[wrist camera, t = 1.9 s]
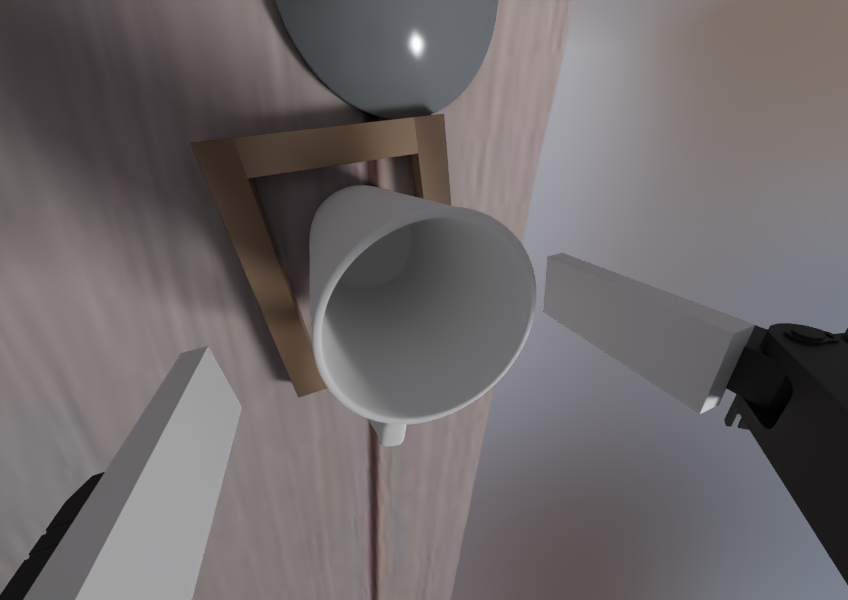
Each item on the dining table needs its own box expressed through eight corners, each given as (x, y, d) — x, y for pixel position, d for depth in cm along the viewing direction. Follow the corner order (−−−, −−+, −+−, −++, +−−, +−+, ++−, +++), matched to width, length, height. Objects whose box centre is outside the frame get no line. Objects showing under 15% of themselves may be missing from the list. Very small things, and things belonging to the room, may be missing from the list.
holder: (298, 383, 21) (298, 397, 20) (199, 144, 14) (189, 142, 13) (453, 333, 24) (461, 342, 23) (433, 117, 17) (443, 113, 16)
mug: (311, 165, 16) (330, 175, 6) (425, 193, 19) (569, 232, 9) (295, 330, 20) (289, 516, 9) (393, 334, 22) (472, 480, 12)
